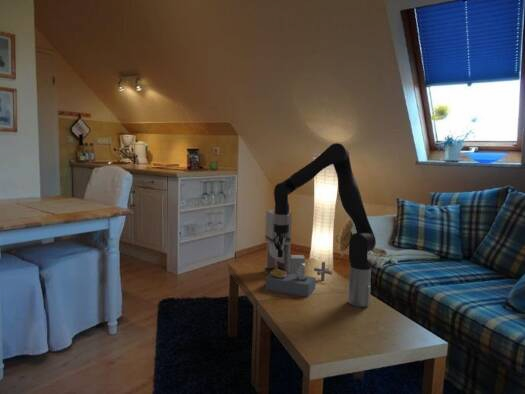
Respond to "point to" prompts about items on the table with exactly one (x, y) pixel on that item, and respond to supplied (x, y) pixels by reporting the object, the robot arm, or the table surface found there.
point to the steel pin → (301, 271)
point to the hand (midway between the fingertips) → (280, 256)
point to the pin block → (291, 285)
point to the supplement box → (295, 262)
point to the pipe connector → (323, 271)
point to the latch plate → (279, 273)
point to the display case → (272, 252)
